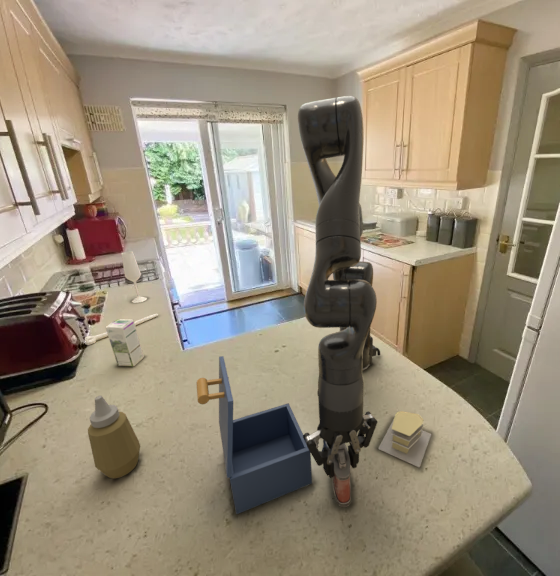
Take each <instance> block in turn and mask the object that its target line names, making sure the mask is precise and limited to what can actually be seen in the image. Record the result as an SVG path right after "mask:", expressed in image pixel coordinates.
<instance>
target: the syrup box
mask: <svg viewBox="0 0 560 576" xmlns="http://www.w3.org/2000/svg"><path fill="white" fill-rule="evenodd" d="M134 322H135V320H134V319H129V318H128V319H127V318H126V319H123V318H121V319H120V318H117V319H115V320H113V321H112V322H110V323H109V324H108V325H106V326H105V330H106V331H105V332H107V334H108V336H107V337H108V340H109V343H110V347H111V349H112V352H113V356H114V358H115V362H116V364H117V367H135V366H136V365H137V364H138V363H140V362H141V361H142V360H143V359H144V358H145V355H144V352H143V348H142V345H141V342H140V338H139V334H138V331H137V327H136V326H135V323H134Z"/></svg>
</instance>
